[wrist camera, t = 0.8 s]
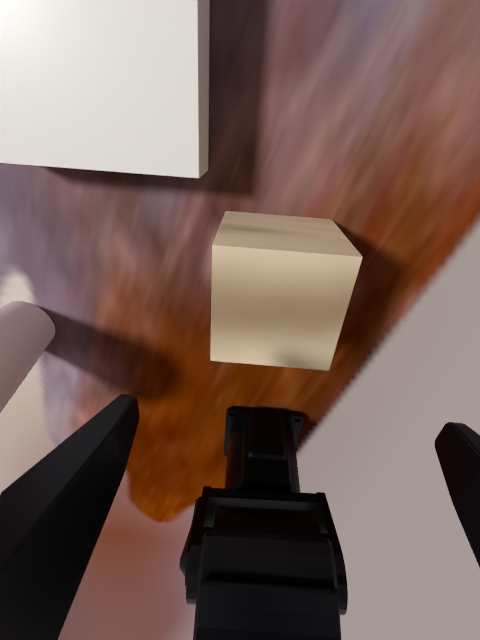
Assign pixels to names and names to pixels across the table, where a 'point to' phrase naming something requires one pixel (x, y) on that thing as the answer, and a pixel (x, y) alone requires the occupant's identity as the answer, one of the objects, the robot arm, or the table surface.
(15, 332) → the smoothie
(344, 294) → the maple cube
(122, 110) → the plinth
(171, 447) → the table surface
